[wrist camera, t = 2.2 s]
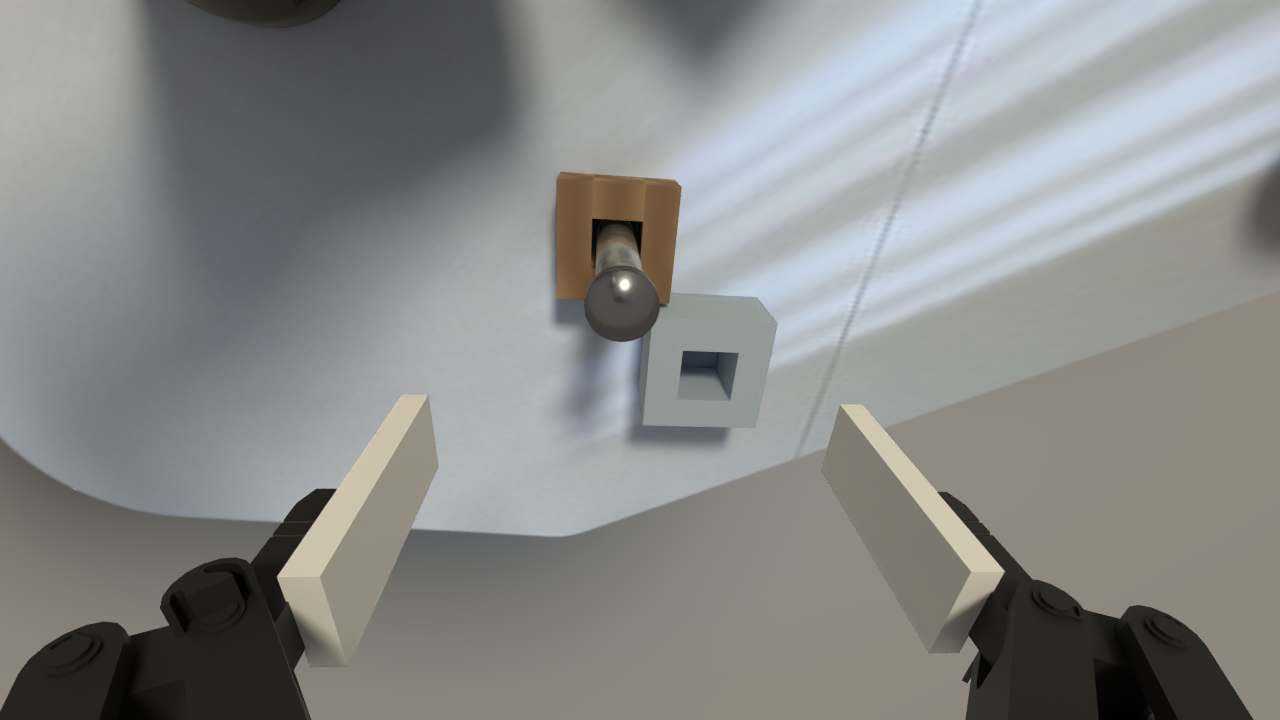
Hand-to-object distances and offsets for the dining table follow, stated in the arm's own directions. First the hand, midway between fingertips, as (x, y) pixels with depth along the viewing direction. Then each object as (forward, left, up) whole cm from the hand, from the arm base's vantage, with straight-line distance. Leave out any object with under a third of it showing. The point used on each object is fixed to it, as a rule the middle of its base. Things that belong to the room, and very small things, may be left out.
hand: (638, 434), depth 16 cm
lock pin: (0, 0, -29) cm, 29 cm away
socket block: (+8, -10, -29) cm, 31 cm away
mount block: (0, 0, -29) cm, 29 cm away
